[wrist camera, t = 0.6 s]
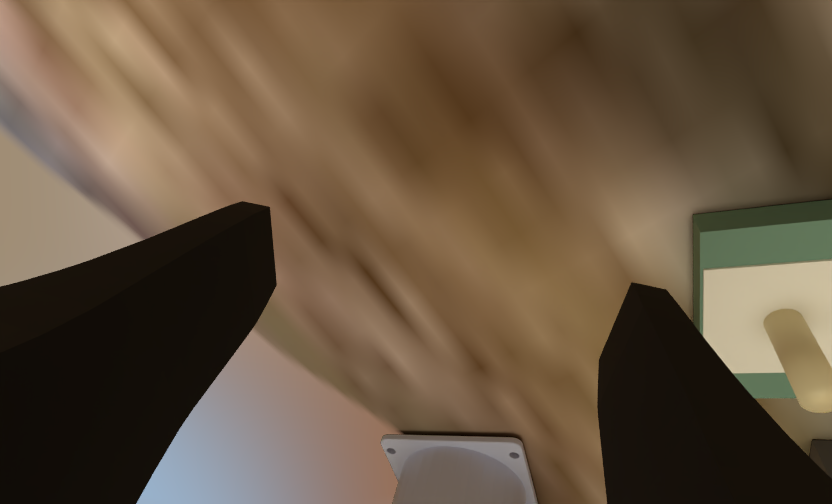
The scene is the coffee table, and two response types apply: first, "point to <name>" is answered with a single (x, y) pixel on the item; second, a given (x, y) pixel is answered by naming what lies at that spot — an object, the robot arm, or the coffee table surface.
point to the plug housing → (822, 455)
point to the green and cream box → (768, 297)
